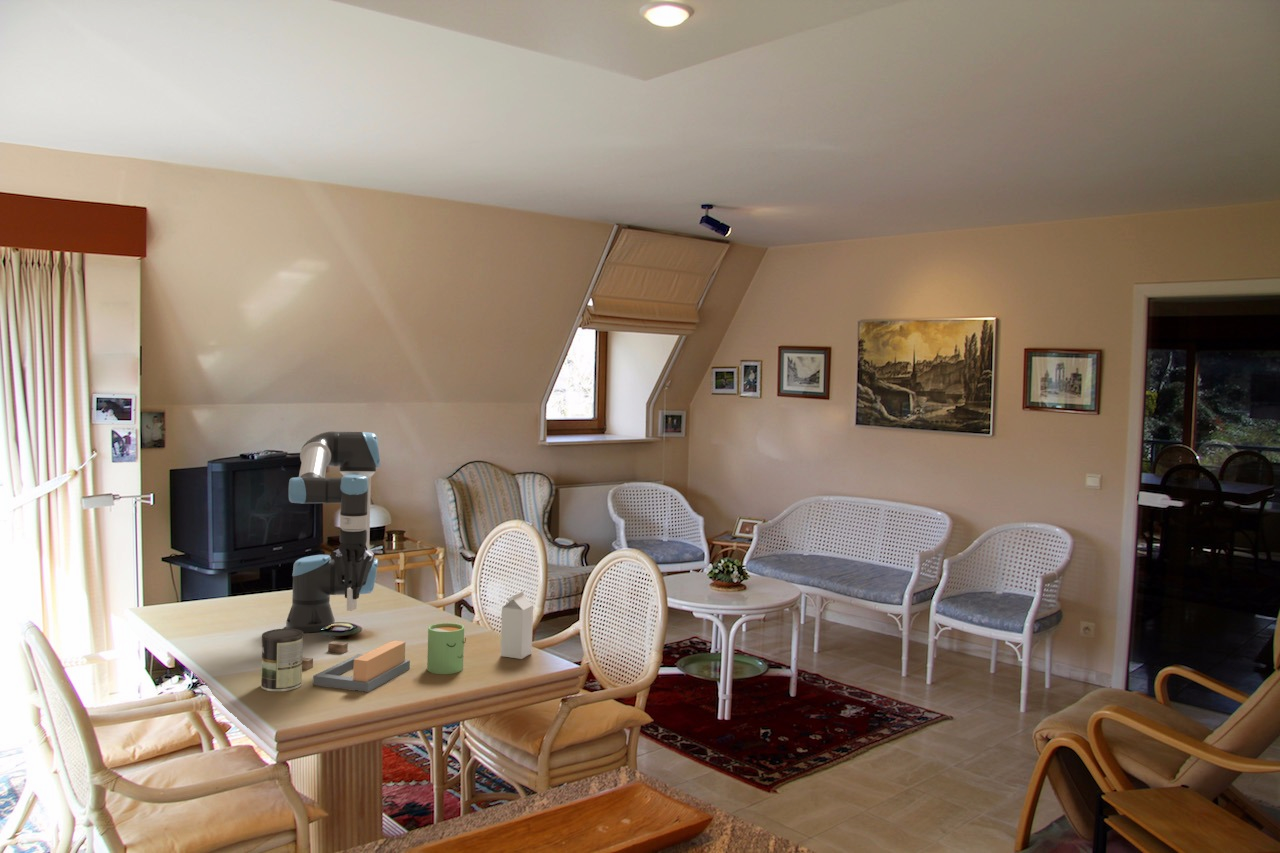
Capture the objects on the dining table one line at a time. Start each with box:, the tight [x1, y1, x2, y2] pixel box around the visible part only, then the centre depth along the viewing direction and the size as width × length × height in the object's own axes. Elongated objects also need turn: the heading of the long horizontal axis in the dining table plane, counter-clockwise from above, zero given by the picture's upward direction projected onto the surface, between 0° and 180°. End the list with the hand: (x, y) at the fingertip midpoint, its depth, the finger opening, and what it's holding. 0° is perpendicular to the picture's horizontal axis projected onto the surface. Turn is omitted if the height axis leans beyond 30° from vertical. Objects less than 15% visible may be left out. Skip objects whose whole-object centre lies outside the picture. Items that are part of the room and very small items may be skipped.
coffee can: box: [260, 628, 304, 693], centre depth 247 cm, size 10×10×14 cm
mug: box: [426, 622, 467, 675], centre depth 268 cm, size 13×10×12 cm
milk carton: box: [500, 590, 534, 660], centre depth 283 cm, size 7×7×19 cm
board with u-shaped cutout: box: [312, 653, 411, 693], centre depth 257 cm, size 16×22×2 cm
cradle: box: [302, 641, 349, 671], centre depth 272 cm, size 5×20×2 cm, turn 165°
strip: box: [352, 640, 406, 682], centre depth 255 cm, size 4×20×8 cm, turn 165°
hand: (351, 609), depth 269 cm, fingers closed
